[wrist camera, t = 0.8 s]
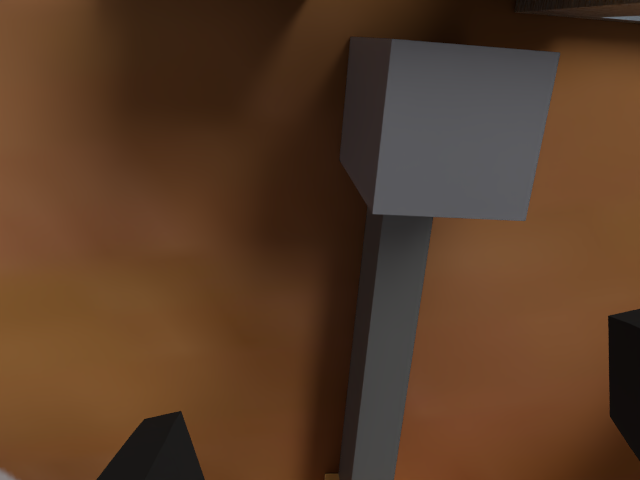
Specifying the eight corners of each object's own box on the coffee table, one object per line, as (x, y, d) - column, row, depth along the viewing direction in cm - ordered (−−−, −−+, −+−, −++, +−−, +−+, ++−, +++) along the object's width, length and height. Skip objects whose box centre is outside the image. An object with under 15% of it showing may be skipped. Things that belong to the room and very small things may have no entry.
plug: (395, 514, 22) (434, 657, 17) (307, 515, 22) (322, 662, 17) (467, 46, 16) (560, 52, 11) (350, 36, 16) (392, 39, 11)
